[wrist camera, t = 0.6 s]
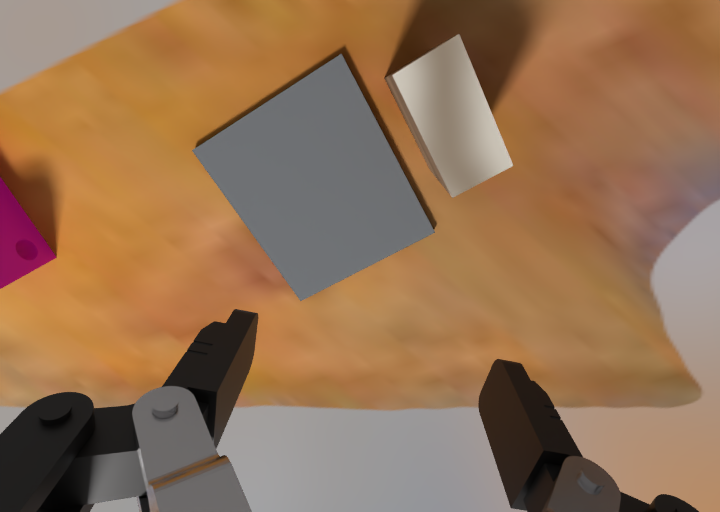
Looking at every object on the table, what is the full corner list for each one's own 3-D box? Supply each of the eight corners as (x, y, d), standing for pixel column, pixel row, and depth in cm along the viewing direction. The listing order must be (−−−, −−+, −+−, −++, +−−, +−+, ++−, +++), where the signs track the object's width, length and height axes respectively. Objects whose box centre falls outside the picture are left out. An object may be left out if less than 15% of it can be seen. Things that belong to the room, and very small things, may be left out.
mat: (341, 54, 29) (341, 53, 29) (433, 230, 35) (434, 232, 34) (194, 149, 32) (192, 150, 31) (301, 297, 37) (300, 301, 37)
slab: (431, 48, 29) (459, 33, 21) (474, 145, 32) (513, 165, 24) (384, 78, 30) (392, 74, 22) (429, 169, 33) (452, 197, 24)
